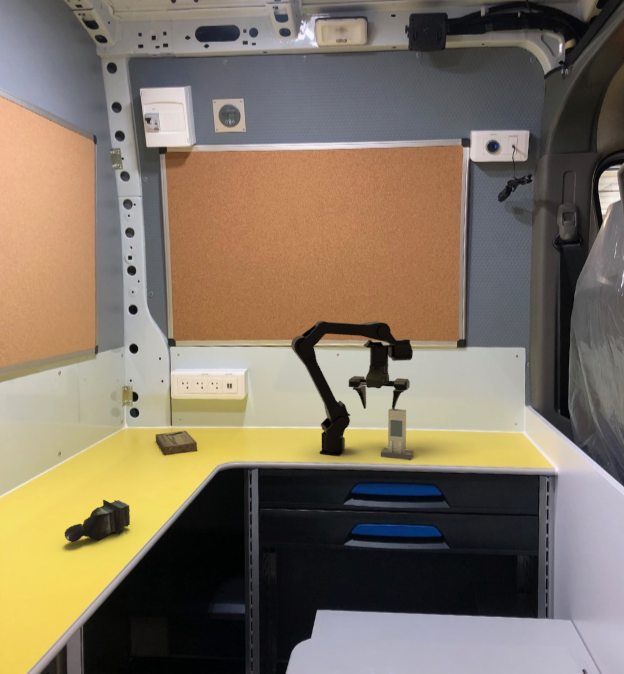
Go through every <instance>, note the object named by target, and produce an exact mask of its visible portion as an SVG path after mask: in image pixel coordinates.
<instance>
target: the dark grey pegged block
mask: <svg viewBox="0 0 624 674" xmlns="http://www.w3.org/2000/svg"><path fill="white" fill-rule="evenodd" d="M413 455H414V450H412V449H411V450H410V449H406V451H405V453H401V442H399V453H397V452H392V441H390V452H388V447H383V449H382V450H381V451H380V457H382V458H387V459H388V458H389V459H390V458H391V459H398V460H405V461H406V460H409V461H410V460H411V459H412V457H413Z"/></svg>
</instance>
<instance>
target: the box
mask: <svg viewBox="0 0 624 674" xmlns="http://www.w3.org/2000/svg"><path fill="white" fill-rule="evenodd" d="M155 443H156V444H157V446H158V449H160V451H161V452H162V453H163V454H164V455H165V456H169V455H170V456H171V455H177V454H184V453H185V454H186V453H191V452H193V453H194V452H198V443H197V441H196V440H195V439H194V438H193V437H192V436H191V434H189V433H188V430H187V431H186V430H180V431H171V432H163V433H156V434H155Z"/></svg>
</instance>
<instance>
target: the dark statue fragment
mask: <svg viewBox="0 0 624 674" xmlns="http://www.w3.org/2000/svg"><path fill="white" fill-rule="evenodd" d="M102 504H103V505H102V506H99V507H96V508H95V509H93V510H92V511H91V513H90V515H89V516H88V517H87V518H85V519H84V520H83V523H78V524H77V523H76V524H73V525H71V526H69V527H68V528H66V530H65V532H64V538H65V539H66V540H67V541H68V542H70V543H75V542H77V541H80V539H82V538H83V537H87V538H90V539H92V541H94V542H99V541H101V540H102V539H104V538H105V537H107V536H108V535H109V534H110V533H115V534H118V535H119V536H120V535H122V530H123V528H125V527H127V528H128V527H129V526H130V525H131V524H130V523H131V522H130V520H131V515H130V512H131V510H130V505H129V504H127V503H126V502H123V501H121V500H119V499H118V500H116V499H115V500H114V501H112V502H109V501H107V500H105V499H102Z"/></svg>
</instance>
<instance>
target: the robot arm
mask: <svg viewBox="0 0 624 674" xmlns="http://www.w3.org/2000/svg"><path fill="white" fill-rule="evenodd" d="M391 331H392V330H391V327H390V326H389V325H388V323H386V322H381V321H369V322H368V321H367V322H362V323H352V322H351V323H350V322H349V323H348V322H336V321H335V322H333V321H324V320H319V321H318V320H317V322H315V324H313V326H312V327H310V328H309V329H307V330H306V331H305V332H303V333H302V334H301V335H297V336H294V338H293V339H292V341H291V343H290V346H291V347H290V348H291V349H292V352H293V353H294V354H295V355H296V356H297V358H298V359H299V360H300V362H301V363H302V364H303V365H304V366H305V368H306V371H307V372H308V375H309V377H310V378H311V381H312V382H313V384H314V387H315V389H316V391H317V393H318V394H319V397H320V399H321V401H322V402H323V406H324V411H325V415H326V418H325V419H324V420H323V421H322V422H321V423H320V427H321V430H322V431H323V432H322V433H321V450H320V451H319V454H322V455H329V456H331V455H332V456H340V455H342V453H344V451H346V449H345V448H346V444H345V443H346V437H344V433H345V431H346V429H347V428H348V427H349V426H350V422H351V419H350V416H351V414H350V413H349V411H348V410H347V409H348V408H347V407H346V404H345V403H344V402H342V400H338V401H337V399H336V398H335V395H334V393H333V391H332V389H331V387H330V385H329V383H328V382H327V379H326V378H325V375H324V373H323V371H322V368H321V367H320V365H319V364H318V360H317V354H316V350H315V346H316V345H317V344H318V343H319V342H320V341H321V340H322V338H324V337H325V335H344V336H355V337H356V336H357V337H359V336H360V337H363V338H368V340H367V342H365V343H364V344H363V347H364V348H366V349H369V357H370V358H369V369H368V372H367V374H366V376H362V375H361V376H358V375H354V376H352V377H350V378H349V380H348V387H349V388H352V390H354V391H356V393H357V394H358V396H359V398H360V401H361V405H362V406H363V409H367V389H370V388H374V389H381V388H382V387H391V388H394V389H393V391H392V403H391V409H396V407H397V406H396V405H397V404H398V403H397V402H398V400H399V397H400V396H401V394H402V393H404V392H405V391H407V390H408V389H410V384H411V383H410V382H411V381H410V380H409V379H408V378H396V379H395V380H390V374H389V358H390V359H391V360H392V361H393V362H396V361H398V362H401V361H411V360H412V358H413V354H414V350H413V348H412V344H411V339H409V338H405V339H396V338H395V337H394V335H393V334H392V333H391ZM372 340H376V341H372ZM383 343H387V344H383ZM366 388H367V389H366Z"/></svg>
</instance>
